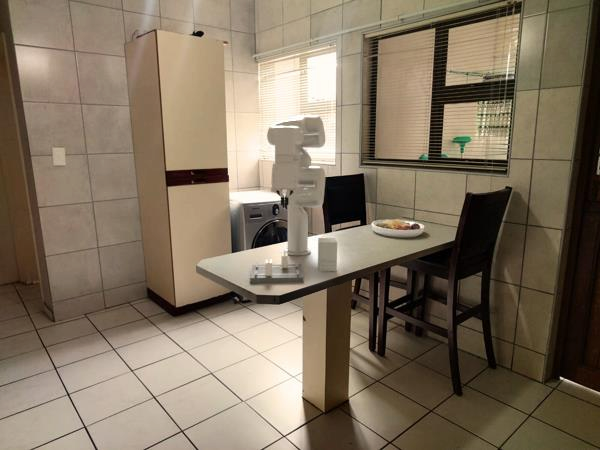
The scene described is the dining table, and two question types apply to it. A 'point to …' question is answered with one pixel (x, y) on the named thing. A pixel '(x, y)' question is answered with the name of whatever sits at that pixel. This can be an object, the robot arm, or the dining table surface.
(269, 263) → the block
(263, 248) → the dining table surface
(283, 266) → the block
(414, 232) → the bowl
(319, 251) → the supplement box
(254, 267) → the console
